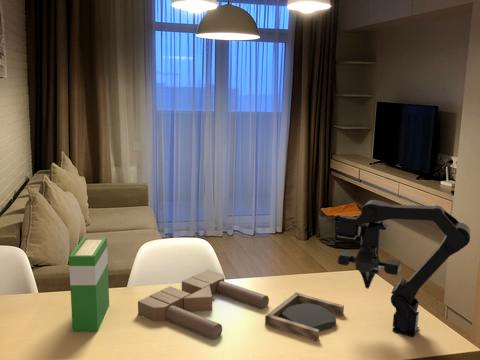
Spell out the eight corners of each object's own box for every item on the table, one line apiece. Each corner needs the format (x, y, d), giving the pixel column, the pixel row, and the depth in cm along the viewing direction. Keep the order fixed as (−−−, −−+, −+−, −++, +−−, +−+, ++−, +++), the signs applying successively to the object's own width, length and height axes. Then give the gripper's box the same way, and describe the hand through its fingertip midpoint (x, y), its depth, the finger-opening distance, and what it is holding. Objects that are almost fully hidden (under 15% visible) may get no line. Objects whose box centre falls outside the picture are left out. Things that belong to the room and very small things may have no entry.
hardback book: (86, 305, 167) (83, 237, 163) (109, 305, 168) (106, 237, 163) (72, 332, 150) (68, 256, 145) (97, 331, 151) (94, 256, 146)
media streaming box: (303, 337, 150) (303, 328, 150) (276, 317, 163) (277, 308, 162) (341, 326, 157) (341, 317, 157) (312, 307, 170) (313, 299, 169)
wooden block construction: (137, 316, 162) (206, 346, 145) (137, 300, 161) (206, 328, 144) (208, 282, 190) (273, 304, 172) (208, 268, 189) (273, 289, 171)
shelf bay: (343, 313, 165) (343, 305, 165) (316, 341, 148) (317, 331, 147) (295, 300, 174) (295, 292, 174) (265, 324, 157) (265, 315, 156)
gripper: (332, 243, 153) (330, 291, 156) (395, 253, 144) (391, 304, 147) (344, 233, 162) (341, 279, 165) (403, 243, 153) (399, 290, 156)
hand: (367, 288), depth 158 cm, fingers closed
